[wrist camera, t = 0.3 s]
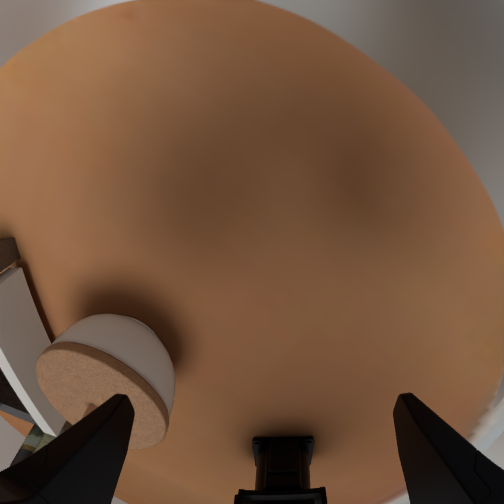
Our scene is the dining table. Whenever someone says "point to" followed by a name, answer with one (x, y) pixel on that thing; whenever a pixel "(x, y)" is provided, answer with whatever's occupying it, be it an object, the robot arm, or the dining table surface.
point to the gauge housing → (3, 394)
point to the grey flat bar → (24, 349)
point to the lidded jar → (110, 373)
